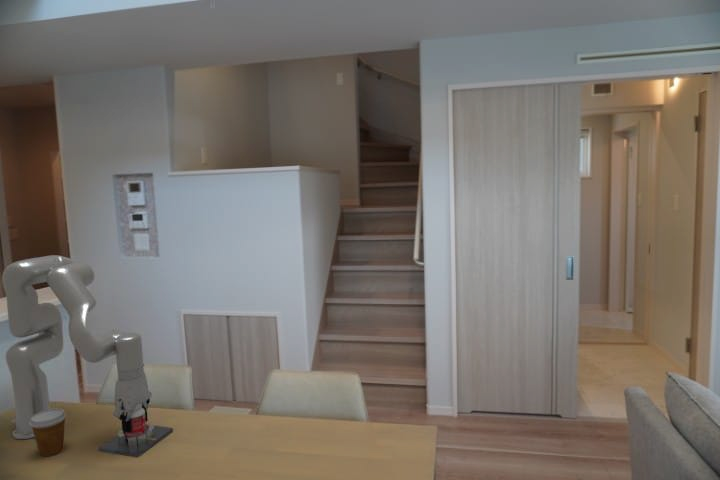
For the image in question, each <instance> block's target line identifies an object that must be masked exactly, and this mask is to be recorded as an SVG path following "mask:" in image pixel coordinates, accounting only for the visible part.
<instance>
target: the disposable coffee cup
mask: <svg viewBox="0 0 720 480" xmlns="http://www.w3.org/2000/svg"><path fill="white" fill-rule="evenodd" d="M66 416H67V413H66V412H65V410H64V409H62V408H50V409H49V410H45V411H42V412H39V413H37V414H35V415H34V416H33V417H32V418H31V421H30V425H31V427H32V428H33V432H34V436H35V437H34V439H35V442H36V446H37V451H38V453H39V456H40V457H43V458H44V457H45V458H46V457H52V456H55V455H57V454H59V453H61V452H62V451H63V450H64V444H65V443H64V440H65V420H66Z"/></svg>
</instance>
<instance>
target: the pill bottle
mask: <svg viewBox="0 0 720 480" xmlns="http://www.w3.org/2000/svg"><path fill="white" fill-rule="evenodd" d="M126 413H127V412H125V414H124V415H125V416H126ZM129 420H131V425H132V431H131V432H125V434H126V439H127V440H128V437H129V436H132V435H138V434H141V433H143V432H145V431H146V424H147V422H146V418H145V410H144V409H143V408H142V403H140V404H139V405H137V406H136V408H135V409H133V410H131V413H130V418H129Z"/></svg>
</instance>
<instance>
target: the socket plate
mask: <svg viewBox="0 0 720 480" xmlns="http://www.w3.org/2000/svg"><path fill="white" fill-rule="evenodd" d="M173 432H174V427H169V426H162V425H161V426H160V425H155V424H154V423H153V422H150V423H146V431H145V432H143V433H141V434H138V435H132V436H129V437H128V440H127V439H126V434H125V432H123V431H122V428H120V429H119V430H118V432H117V434H116V435H115V436H113V437H112V438H110V439H109V440H107V441H106V442H104V443H102V444H101V445H99V446H98V452H103V453H109V454H115V455H122V456H128V457H133V458H139V457H140V456H141V455H143V454H145V453H146V452H147V451H148V450H150V449H151V448H153V447H154V446H156V445H157V444H158V443H160V442H161V441H162V440H163V439H165V438H166V437H168V436H169V435H171V433H173Z"/></svg>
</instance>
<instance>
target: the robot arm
mask: <svg viewBox="0 0 720 480" xmlns="http://www.w3.org/2000/svg"><path fill="white" fill-rule="evenodd" d="M1 276H2V277H1V283H2V287H3V290H4V292H5V296H6V305H7V319H8V328H9V332H10V334H11V335H12V336H13V337H15V338H20V339H21V338H26V337H27V338H26V339H24V340H21V341H18V342H16V343H15V344H14V343H13V344H12V345H11V346H10V347H9V348H8V349H7V351H6V353H5V361H6V365H7V368H8V369H9V373H10V376H11V381H12V389H13V397H14V406H15V418H13V419H12V420H11V424H15V426H16V427H15V428H14V429H13V431H12V437H13V438H15V439H18V440H28V439H29V440H30V439H33V438H34V439H35V436H34V432H33V428H32V427H31V425H30V421H31V418H32V417H33V416H34V415H35V414H37V413H39V412H42V411H45V410H49V409H51V406H50V405H51V404H50V395H49V386H48V378H47V375H46V373H45V372H44V371H43V370H42V369H41V367H40V365H43V364H44V363H46V362H48V361H51V360H53V359H56V358H57V357H59V356H60V355H61V353H63V349H64V332H63V331H64V330H63V318H62V313H61V311H60V309H59V308H58V307H57V305H55V304H54V303H52V302H41V303H39V295H38V293H37V291H36V289H35V288H34V287H33V285H37V284H42V283H47V285H48V286H49V288H50V289H51V292H52V293H54V295H55V297H57V299H58V301H59V302H60V303H61V305H62V307H63V308H64V309H65V311H66V312H67V314H68V317H69V322H68V334H69V339H70V342H71V343H72V346H73V347H74V349H75V351H77V352H78V355H80V356H81V358H82V359H83V360H84V361H86V362H88V363H92V364H94V363H95V364H96V363H98V362H101V361H103V360H105V359H106V360H107V359H108V358H110V357H112V356H115V358H116V368H117V369H116V371H117V379H116V380H115V386H114V387H115V388H114V408H115V409H114V410H113V414H112V415H113V417H115V418H117V419H119V421H121V429H122V431H123V432H131V431H132V425H131V420H129V418H130V413H131V410H133V409H135V408H136V406H137V405H139V404H140V403H142V408H143V409H144V410H145V418H146V423H147V422H148V420H149V419H148V409H149V404H150V400H151V398H152V395H153V392H151V391H150V390H149V385H148V380H147V375H146V373H145V368H144V367H145V363H144V359H143V358H144V355H143V342H142V336H141V334H140V333H137V332H124V331H121V330H115V329H114V330H109V331H107V332H104V333H102V334H99V335H97V336H93V334H92V333H91V331H90V330H89V328H88V325H87V317H88V315H89V313H90V312H91V311H92V310H93V309H95V307H96V304H97V300H96V298H95V297H94V296H93V294H92V293H91V292H90V290H89V288H88V287H87V286H90V285H91V284H92V283H93V282H94V280H95V272H94V270H93V268H92V267H91V266H90V265H89V264H88V263H85V262H83V261H81V260H78V259H74V258H69V257H66V256H62V255H55V254H54V255H53V254H52V255H46V256H40V257H39V256H38V257H32V258H26V259H22V260H17V261H15V262H12V263H11V264H9V265H7V266H6V267H5V269H4V270H3V272H2V275H1ZM36 334H38V335H36ZM34 335H35V336H34ZM30 336H33V337H30ZM28 337H29V338H28ZM125 412H127V413H126V416H125V415H124V414H125Z"/></svg>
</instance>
